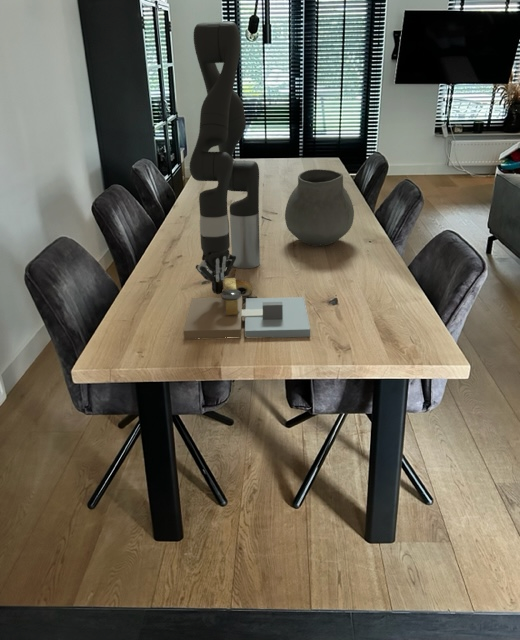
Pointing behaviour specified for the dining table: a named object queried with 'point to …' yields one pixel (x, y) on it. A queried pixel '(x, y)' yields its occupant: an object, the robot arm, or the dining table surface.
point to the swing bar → (231, 296)
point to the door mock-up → (247, 318)
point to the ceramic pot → (319, 208)
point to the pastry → (243, 287)
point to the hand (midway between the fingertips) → (217, 292)
